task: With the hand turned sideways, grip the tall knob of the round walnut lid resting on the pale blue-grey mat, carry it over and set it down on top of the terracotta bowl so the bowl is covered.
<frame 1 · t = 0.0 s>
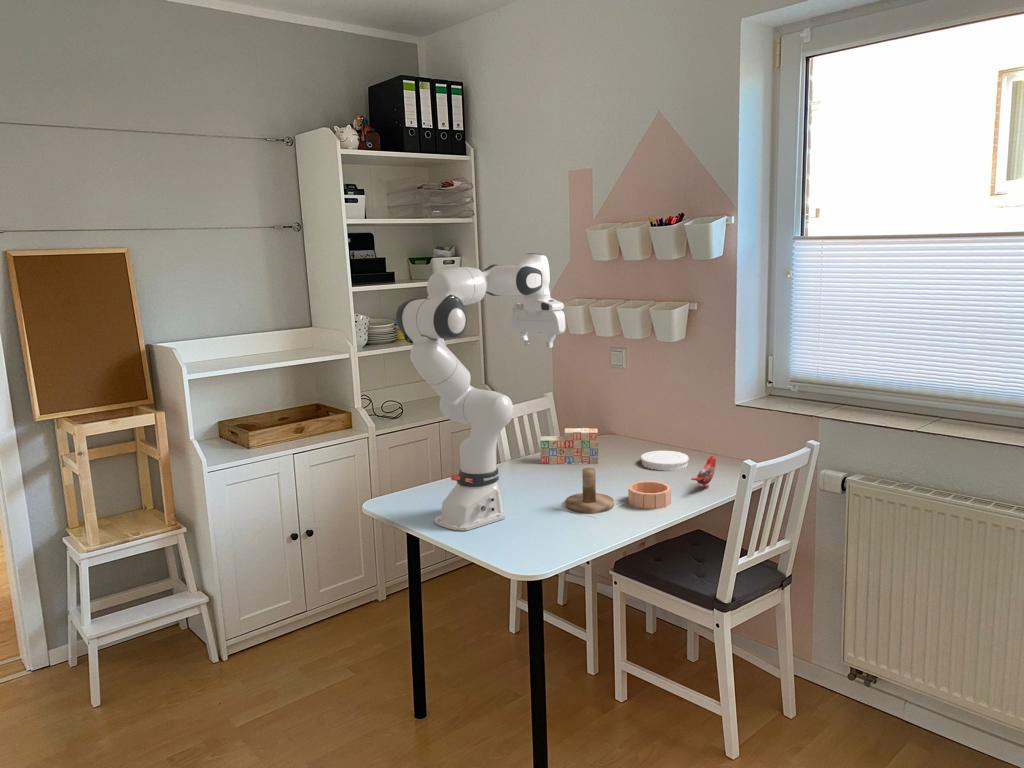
hand: (538, 346, 253), 48 cm above the table, tool pointing down, fingers open, 8 cm apart
decorative bird figurine: (703, 490, 253), on the table
stack of blocks: (569, 462, 290), on the table
rubber mat: (589, 506, 242), on the table
terracotta bowl: (649, 502, 243), on the table
walnut lid: (589, 505, 242), resting on rubber mat
lid: (664, 464, 284), on the table
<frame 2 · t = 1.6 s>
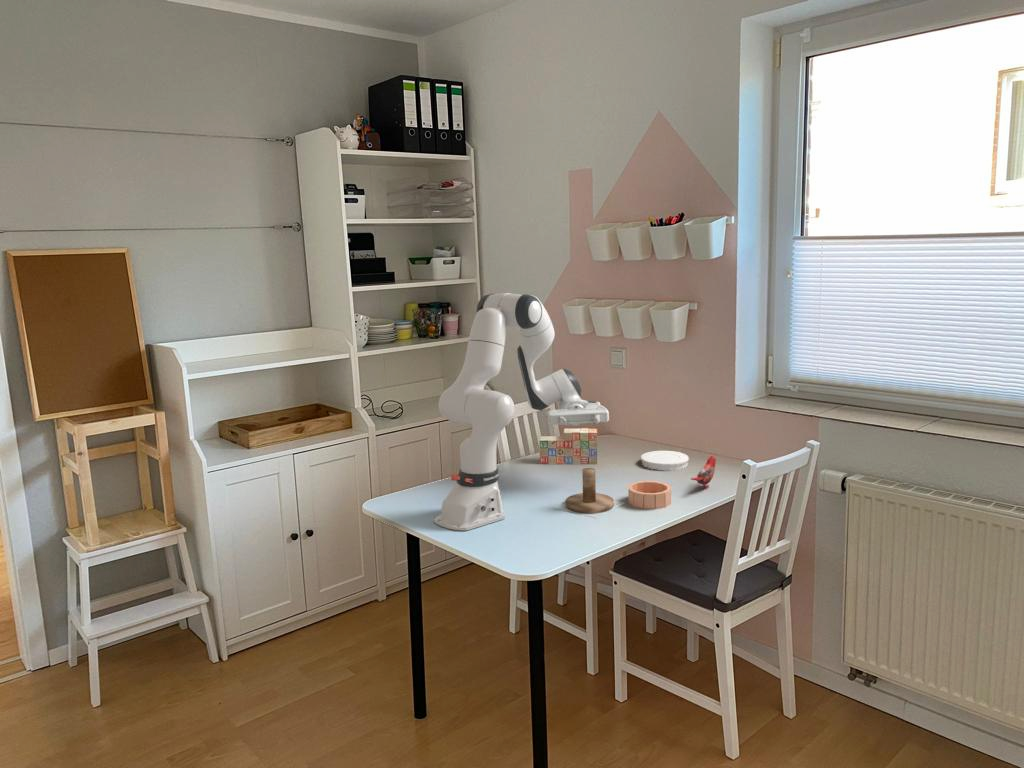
hand: (581, 422, 249), 24 cm above the table, tool horizontal, fingers open, 8 cm apart
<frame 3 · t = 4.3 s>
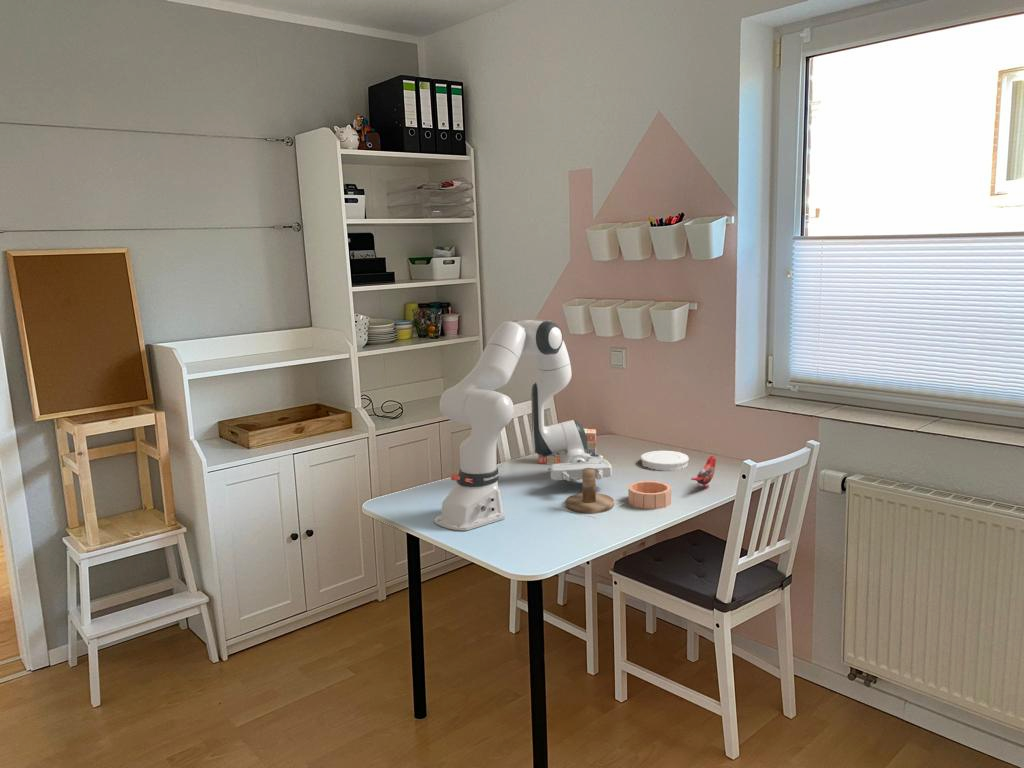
hand: (584, 477, 248), 7 cm above the table, tool horizontal, fingers open, 8 cm apart
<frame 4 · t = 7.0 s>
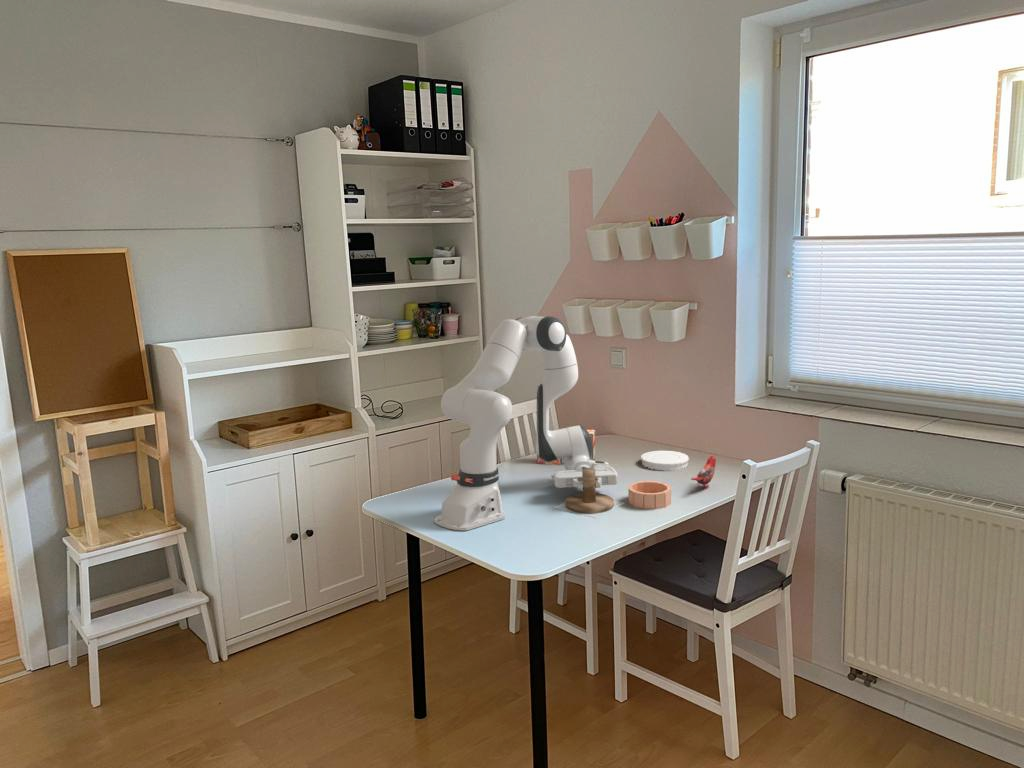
hand: (589, 485, 239), 7 cm above the table, tool horizontal, fingers closed on walnut lid, 4 cm apart
walnut lid: (589, 505, 242), resting on rubber mat, touching gripper
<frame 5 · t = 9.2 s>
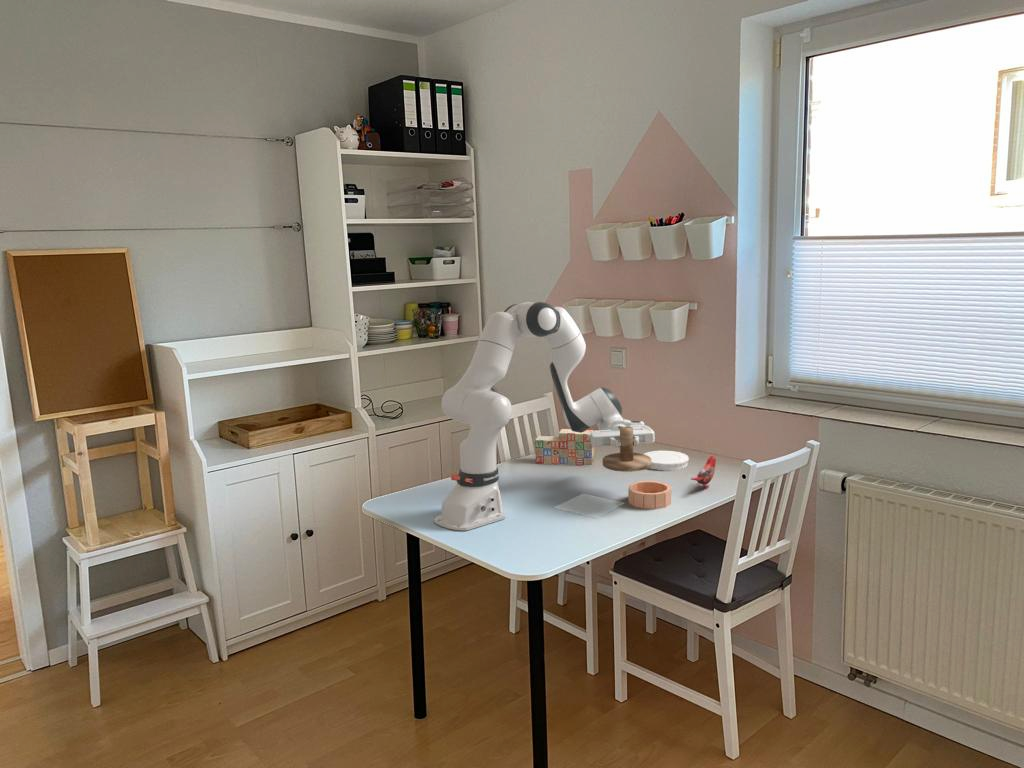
hand: (627, 444, 239), 20 cm above the table, tool horizontal, fingers closed on walnut lid, 4 cm apart
walnut lid: (626, 464, 241), point 13 cm above the table, touching gripper
when the fingers open (13 cm above the table, at t = 11.9 s): walnut lid drops 1 cm, resting on terracotta bowl.
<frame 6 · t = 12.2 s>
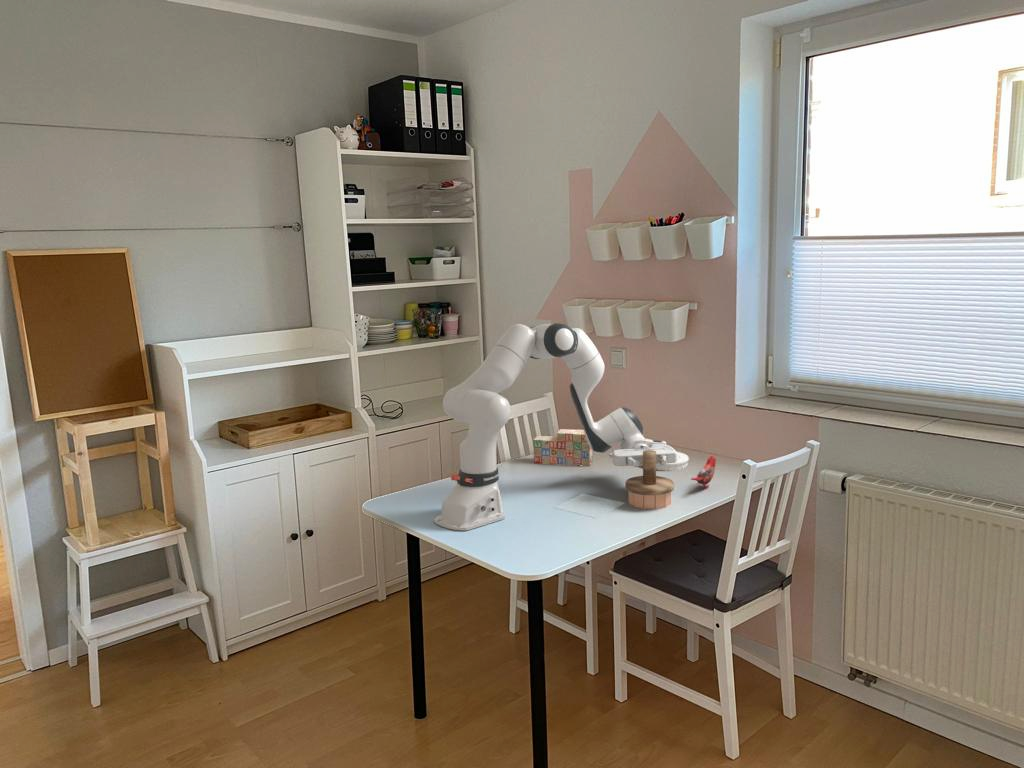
hand: (650, 463, 240), 13 cm above the table, tool horizontal, fingers open, 7 cm apart
walnut lid: (649, 487, 242), point 5 cm above the table, touching terracotta bowl
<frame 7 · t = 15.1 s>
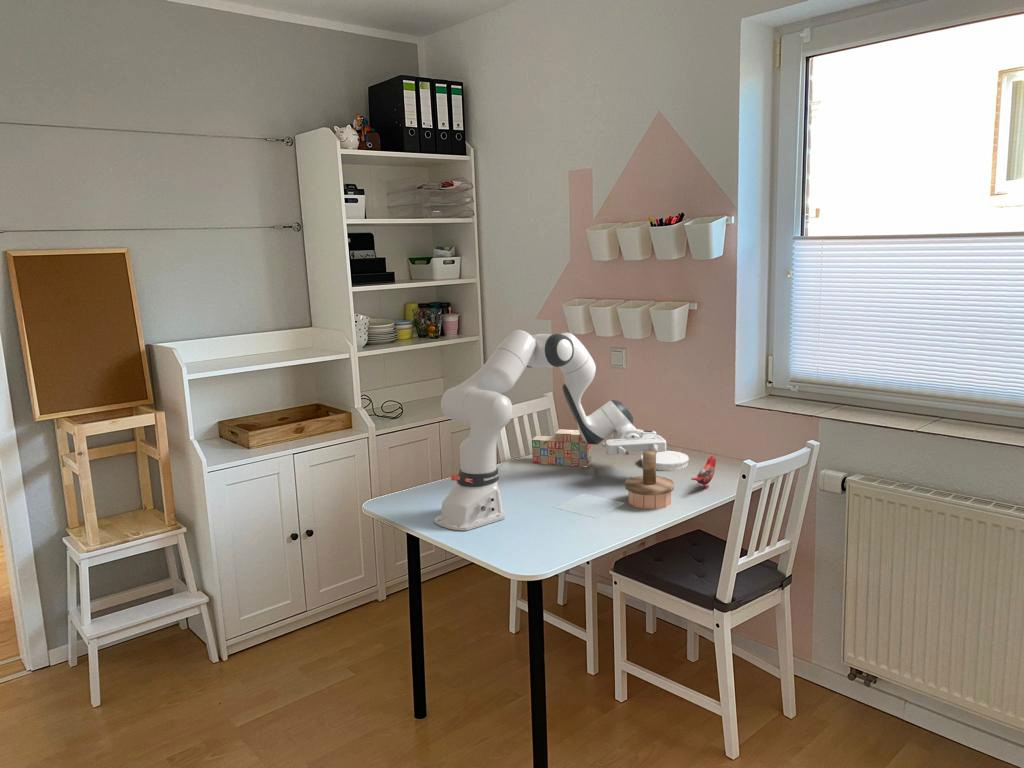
hand: (640, 452, 252), 13 cm above the table, tool horizontal, fingers open, 8 cm apart
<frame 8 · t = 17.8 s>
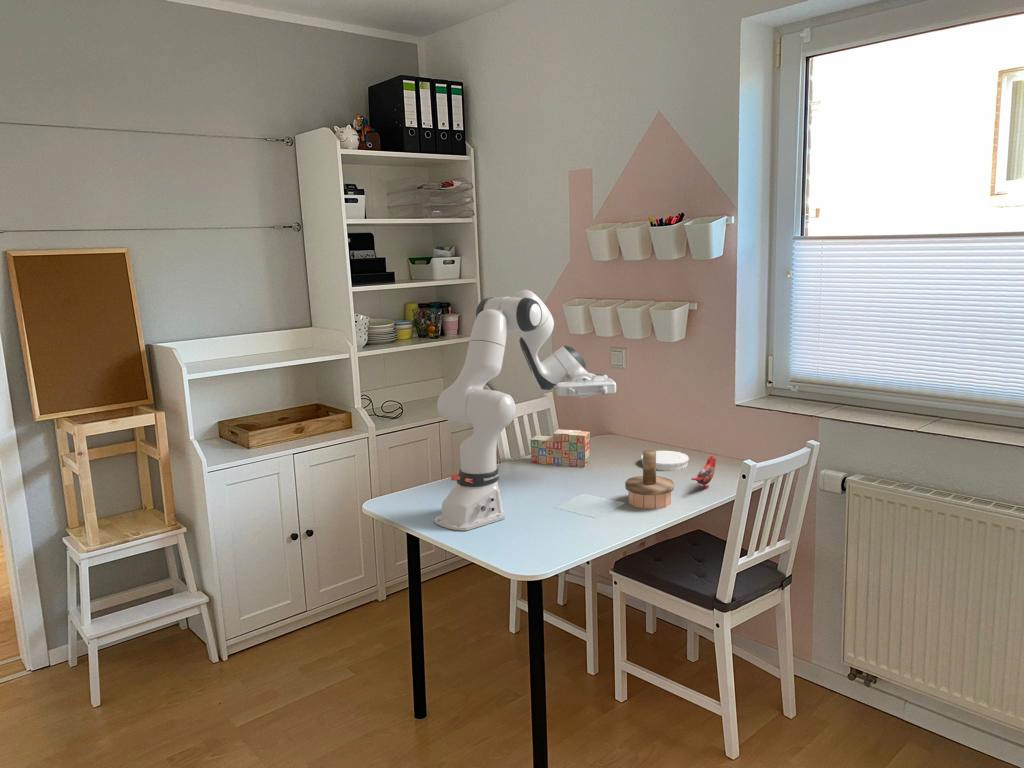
hand: (589, 392, 256), 32 cm above the table, tool horizontal, fingers open, 8 cm apart
at the end: walnut lid 0.1 cm off-centre on the terracotta bowl, point 5.0 cm above the terracotta bowl's base; walnut lid tilted 0°; the gripper is holding nothing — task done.
